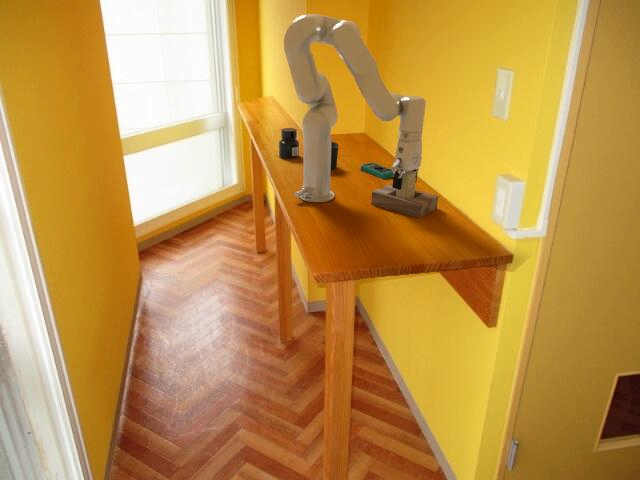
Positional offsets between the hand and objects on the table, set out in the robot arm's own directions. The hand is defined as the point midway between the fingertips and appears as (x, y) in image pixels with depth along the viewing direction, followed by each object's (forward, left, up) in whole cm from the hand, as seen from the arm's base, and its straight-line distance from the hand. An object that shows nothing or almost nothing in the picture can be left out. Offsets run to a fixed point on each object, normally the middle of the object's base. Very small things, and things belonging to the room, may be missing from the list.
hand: (404, 185), depth 181 cm
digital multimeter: (+26, +28, -8) cm, 39 cm away
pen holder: (+17, +48, -8) cm, 51 cm away
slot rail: (0, 0, -8) cm, 8 cm away
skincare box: (+1, 0, -8) cm, 8 cm away
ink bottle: (+19, +71, -8) cm, 73 cm away
